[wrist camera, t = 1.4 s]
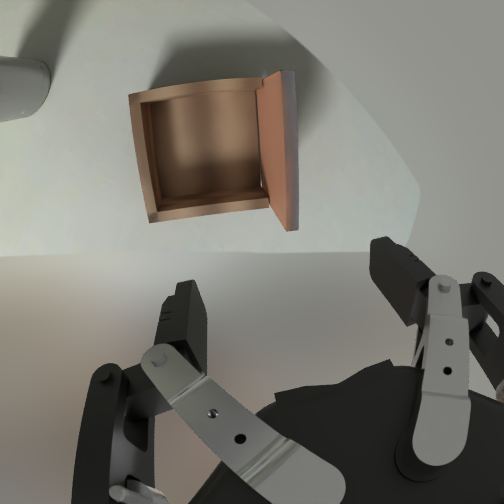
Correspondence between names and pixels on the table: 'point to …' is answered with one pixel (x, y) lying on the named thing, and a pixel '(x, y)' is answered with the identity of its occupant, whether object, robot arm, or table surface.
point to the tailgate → (280, 145)
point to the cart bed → (198, 148)
